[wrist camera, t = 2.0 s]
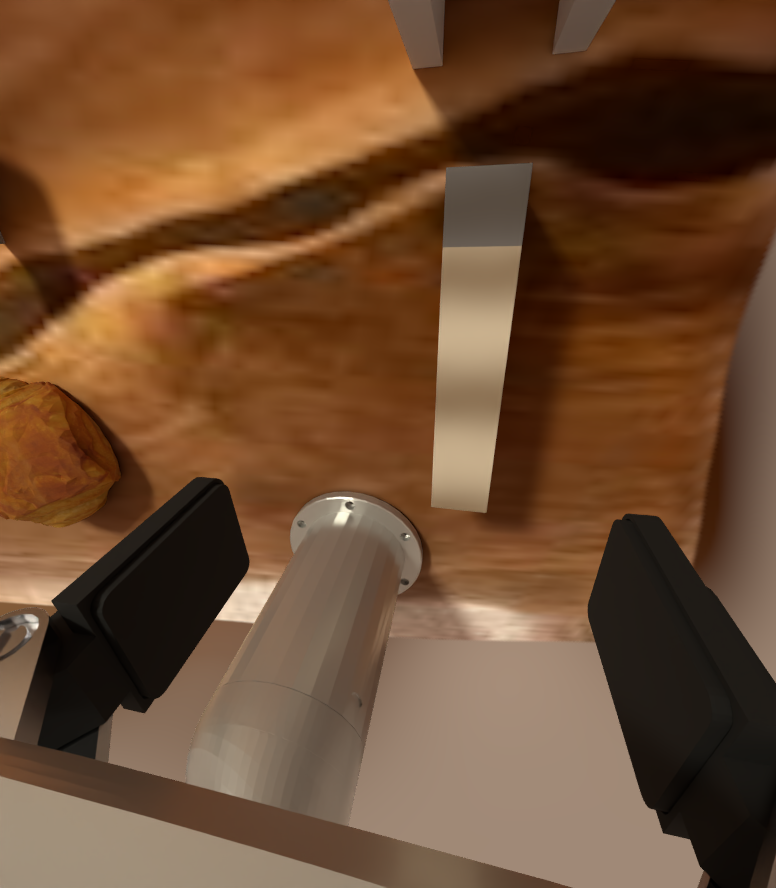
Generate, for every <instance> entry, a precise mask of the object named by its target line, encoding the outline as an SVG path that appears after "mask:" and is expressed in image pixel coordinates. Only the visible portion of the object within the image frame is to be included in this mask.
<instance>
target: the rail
mask: <svg viewBox="0 0 776 888" xmlns="http://www.w3.org/2000/svg"><path fill="white" fill-rule="evenodd" d="M532 166H533V163H521V164H503V165H485V166H468V167H450V168H446V187H445V210H444V232H443V254H442V276H441V299H440V321H439V343H438V366H437V388H436V410H435V433H434V455H433V477H432V500H431V507H437V508H446V509H455V510H464V511H474V512H483V513H486V512H487V504H488V497H489V489H490V482H491V474H492V467H493V459H494V452H495V444H496V437H497V429H498V422H499V414H500V406H501V399H502V391H503V384H504V376H505V369H506V361H507V354H508V346H509V339H510V331H511V324H512V316H513V309H514V301H515V294H516V286H517V279H518V271H519V264H520V256H521V249H522V241H523V234H524V226H525V219H526V211H527V204H528V196H529V189H530V181H531V174H532Z"/></svg>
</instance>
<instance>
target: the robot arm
mask: <svg viewBox="0 0 776 888" xmlns="http://www.w3.org/2000/svg"><path fill="white" fill-rule="evenodd" d="M290 542H291V547H292V551H293V553H294V555H293V557H292V558H291V560H290V562H289V564H288V565H287V567H286V569H285V571H284V572H283V574H282V576H281V578H280V579H279V581H278V583H277V585H276V586H275V588H274V590H273V591H272V593H271V595H270V597H269V598H268V600H267V602H266V604H265V605H264V607H263V609H262V611H261V612H260V614H259V616H258V618H257V619H256V621H255V623H254V625H253V626H252V628H251V630H250V632H249V633H248V635H247V637H246V638H245V640H244V642H243V644H242V645H241V647H240V649H239V651H238V652H237V654H236V656H235V658H234V659H233V661H232V663H231V665H230V666H229V668H228V670H227V672H226V674H225V675H224V677H223V678H222V680H221V682H220V684H219V686H218V687H217V689H216V691H215V693H214V694H213V696H212V698H211V700H210V702H209V703H208V705H207V707H206V708H205V710H204V712H203V714H202V716H201V718H200V720H199V722H198V724H197V726H196V729H195V732H194V735H193V737H192V740H191V744H190V748H189V753H188V757H187V767H186V783H183V782H179V781H175V780H172V779H168V778H163V777H160V776H156V775H152V774H149V773H145V772H141V771H137V770H133V769H129V768H126V767H122V766H118V765H114V764H110V763H108V758H109V748H110V737H111V728H112V716H113V713H114V711H115V710H116V709H117V707H118V706H119V705H120V704H121V705H122V706H123V708H124V709H128V710H133V711H137V712H141V713H145V712H146V711H147V709H148V708H149V707H150V705H151V704H152V702H153V701H154V699H156V698H159V697H160V696H161V695H162V694H163V693H164V692H165V691H166V690H167V688H168V687H169V685H170V684H171V682H172V681H173V679H174V678H175V676H176V675H177V674H178V672H179V671H180V669H181V668H182V666H183V665H184V663H185V662H186V660H187V659H188V657H189V656H190V654H191V653H192V651H193V650H194V649H195V647H196V646H197V644H198V643H199V641H200V640H201V638H202V637H203V636H204V634H205V633H206V631H207V629H208V628H209V627H210V625H211V623H212V622H213V621H214V619H215V618H216V617H217V615H218V614H219V612H220V611H221V609H222V608H223V606H224V605H225V603H226V602H227V600H228V599H229V598H230V596H231V595H232V593H233V592H234V590H235V589H236V587H237V586H238V584H239V583H240V581H241V580H242V579H243V577H244V576H245V574H246V572H247V570H248V568H249V557H248V553H247V550H246V546H245V543H244V539H243V536H242V533H241V529H240V526H239V522H238V519H237V515H236V512H235V508H234V505H233V502H232V498H231V495H230V491H229V489H228V487H227V486H226V485H224V483H223V482H222V481H221V480H220V479H217V478H205V477H197V478H195V479H193V480H192V481H191V482H190V483H189V484H187V485H186V486H185V487H184V488H183V489H182V490H180V491H179V492H178V493H177V494H176V495H175V496H173V497H172V498H171V499H170V500H169V501H168V502H166V503H165V504H164V505H163V506H162V507H161V508H159V509H158V510H157V511H156V512H155V513H153V514H152V515H151V516H150V517H149V518H148V519H146V520H145V521H144V522H143V523H142V524H141V525H139V526H138V527H137V528H136V529H135V530H134V531H132V532H131V533H130V534H129V535H128V536H127V537H125V538H124V539H123V540H122V541H121V542H120V543H118V544H117V545H116V546H115V547H114V548H112V549H111V550H110V551H109V552H108V553H107V554H105V555H104V556H103V557H102V558H101V559H100V560H98V561H97V562H96V563H95V564H94V565H93V566H91V567H90V568H89V569H88V570H87V571H86V572H84V573H83V574H82V575H81V576H80V577H79V578H77V579H76V580H75V581H74V582H73V583H72V584H70V585H69V586H68V587H67V588H66V589H64V590H63V591H62V592H61V593H60V594H59V595H57V596H56V597H55V598H54V599H53V600H52V603H53V604H54V606H55V607H56V609H57V610H58V611H57V612H56V613H55V614H54V615H52V616H51V617H50V616H49V615H48V613H47V612H46V611H45V610H43V609H40V608H37V607H36V608H24V609H20V610H16V611H12V612H10V613H8V614H5V615H3V616H0V888H571V887H568V886H564V885H561V884H558V883H554V882H551V881H547V880H544V879H540V878H536V877H532V876H529V875H525V874H522V873H518V872H514V871H510V870H506V869H503V868H499V867H496V866H492V865H488V864H485V863H481V862H477V861H474V860H470V859H466V858H463V857H459V856H455V855H451V854H448V853H444V852H441V851H437V850H433V849H430V848H426V847H422V846H418V845H415V844H411V843H408V842H404V841H400V840H397V839H393V838H389V837H386V836H382V835H378V834H375V833H371V832H367V831H363V830H360V829H356V828H352V827H348V825H349V819H350V814H351V810H352V805H353V800H354V795H355V790H356V786H357V780H358V776H359V772H360V766H361V762H362V758H363V753H364V748H365V743H366V739H367V734H368V730H369V725H370V720H371V716H372V711H373V707H374V702H375V697H376V693H377V688H378V683H379V679H380V674H381V669H382V665H383V660H384V656H385V651H386V646H387V642H388V637H389V633H390V628H391V623H392V619H393V614H394V609H395V605H396V600H397V596H398V595H399V594H401V593H403V592H404V591H406V590H407V589H408V588H410V587H411V586H412V584H413V583H414V582H415V581H416V580H417V577H418V575H419V573H420V571H421V565H422V560H423V549H422V544H421V540H420V538H419V536H418V534H417V531H416V530H415V528H414V527H413V525H412V524H411V523H410V521H409V520H408V519H407V518H406V517H405V516H404V515H403V514H402V513H401V512H399V511H398V510H397V509H395V508H394V507H392V506H391V505H389V504H388V503H386V502H384V501H382V500H379V499H377V498H375V497H372V496H369V495H365V494H362V493H355V492H332V493H327V494H323V495H321V496H318V497H316V498H314V499H312V500H311V501H309V502H308V503H307V504H305V505H304V507H303V508H302V509H301V510H300V511H299V513H298V514H297V516H296V517H295V519H294V521H293V524H292V527H291V530H290ZM588 618H589V622H590V625H591V629H592V632H593V635H594V639H595V642H596V645H597V649H598V652H599V655H600V659H601V662H602V665H603V669H604V672H605V675H606V679H607V682H608V685H609V689H610V692H611V695H612V699H613V702H614V705H615V709H616V712H617V715H618V719H619V722H620V725H621V729H622V732H623V735H624V738H625V742H626V745H627V749H628V752H629V755H630V759H631V762H632V765H633V768H634V772H635V775H636V779H637V782H638V785H639V789H640V792H641V795H642V797H643V800H644V801H645V804H646V805H647V806H648V807H649V808H651V809H654V810H656V812H657V816H658V819H659V822H660V825H661V828H662V831H663V833H665V834H669V835H674V836H678V837H682V838H687V839H690V840H691V843H692V846H693V849H694V851H695V854H696V857H697V860H698V862H699V865H700V867H701V868H702V869H703V870H704V871H703V874H702V877H701V879H700V882H699V885H698V888H776V683H775V681H774V680H773V678H772V677H771V675H770V674H769V673H768V671H767V670H766V668H765V667H764V665H763V664H762V662H761V661H760V659H759V658H758V656H757V655H756V653H755V652H754V650H753V649H752V647H751V646H750V645H749V643H748V642H747V640H746V639H745V637H744V636H743V634H742V633H741V631H740V630H739V628H738V627H737V625H736V624H735V622H734V621H733V619H732V618H731V617H730V615H729V614H728V612H727V611H726V609H725V608H724V606H723V605H722V603H721V602H720V601H719V599H718V597H717V596H716V595H715V594H714V593H713V591H712V590H711V589H709V588H708V587H706V586H705V585H704V583H703V581H702V580H701V578H700V577H699V575H698V574H697V573H696V571H695V570H694V568H693V566H692V565H691V563H690V562H689V560H688V559H687V557H686V556H685V554H684V553H683V551H682V550H681V548H680V547H679V545H678V544H677V542H676V541H675V539H674V538H673V536H672V535H671V533H670V532H669V530H668V529H667V527H666V526H665V524H664V523H663V521H662V520H661V519H660V518H659V517H657V516H649V515H637V514H625V515H624V517H623V518H622V520H615V521H614V522H613V525H612V528H611V531H610V534H609V538H608V541H607V544H606V547H605V551H604V554H603V557H602V560H601V564H600V567H599V570H598V573H597V577H596V580H595V583H594V586H593V590H592V593H591V596H590V599H589V603H588Z"/></svg>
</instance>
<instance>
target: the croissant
mask: <svg viewBox="0 0 776 888" xmlns="http://www.w3.org/2000/svg"><path fill="white" fill-rule="evenodd" d="M120 478H121V472H120V470H119V465H118V461H117V458H116V456H115V455H114V452H113V450H112V447H111V445H110V443H109V442H108V440H107V439H106V438H105V436H104V434H103V433H102V431H101V430H100V428H99V426H98V425H97V424H96V423H95V422H94V421H93V419H92V418H91V417H90V416H89V415H88V414H87V413H86V412H85V411H84V410H83V409H82V408H81V407H80V406H79V405H78V404H77V403H75V402H73V401H72V400H71V399H70V398H68V397H67V396H66V395H65V394H64V393H63V392H62V391H61V390H59V389H58V388H57V387H56V386H55V385H54V384H51V383H49V382H46V384H45V382H39V383H37V382H36V383H30V384H29V385H28V384H27V383H26V382H23V381H20V380H16V379H9V378H4V377H0V516H1V517H3V518H5V519H13V520H14V519H15V520H23V521H33V522H34V523H42V524H43V525H46V526H48V525H51V526H53V527H58V528H60V527H65V526H69V525H71V524H74V523H77V522H79V521H81V520H83V519H85V518H87V517H89V516H91V515H92V514H94V513H95V512H96V511H98V510H99V509H100V508H101V507H103V506H104V504H105V503H106V501H107V494H108V490H109V489H110V488H111V486H112V485H113V484H114V482H115V481H119V479H120Z"/></svg>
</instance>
